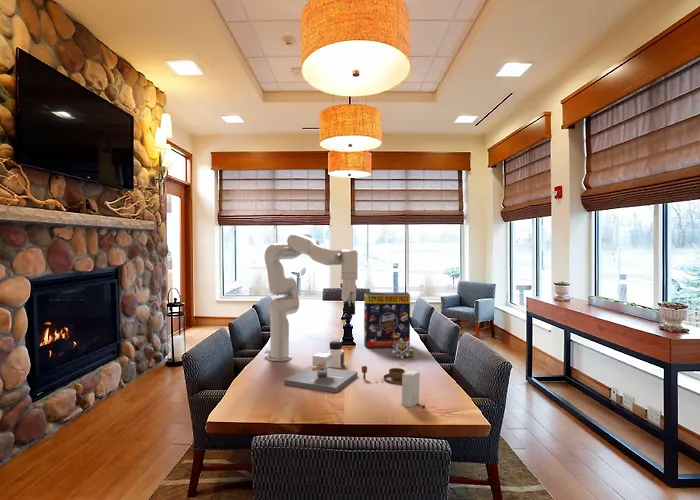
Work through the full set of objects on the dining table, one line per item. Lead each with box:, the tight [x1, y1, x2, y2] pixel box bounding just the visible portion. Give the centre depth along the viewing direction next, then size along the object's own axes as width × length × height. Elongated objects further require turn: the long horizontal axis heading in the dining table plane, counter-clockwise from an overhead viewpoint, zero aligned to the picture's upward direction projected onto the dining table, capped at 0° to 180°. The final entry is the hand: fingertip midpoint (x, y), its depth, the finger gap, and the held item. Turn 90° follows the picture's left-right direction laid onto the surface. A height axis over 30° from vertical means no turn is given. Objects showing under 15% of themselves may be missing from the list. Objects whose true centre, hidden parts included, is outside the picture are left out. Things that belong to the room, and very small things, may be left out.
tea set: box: [361, 365, 405, 385], centre depth 198 cm, size 18×20×6 cm
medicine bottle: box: [327, 340, 345, 369], centre depth 217 cm, size 7×7×12 cm
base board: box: [283, 365, 358, 393], centre depth 194 cm, size 24×24×2 cm
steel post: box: [317, 368, 327, 377], centre depth 194 cm, size 4×4×4 cm
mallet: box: [312, 352, 332, 371], centre depth 191 cm, size 6×11×5 cm, turn 158°
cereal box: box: [363, 291, 411, 349], centre depth 260 cm, size 27×11×32 cm, turn 97°
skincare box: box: [401, 370, 421, 408], centre depth 166 cm, size 6×4×12 cm
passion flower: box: [390, 338, 415, 360], centre depth 236 cm, size 11×11×12 cm
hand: (349, 313), depth 205 cm, fingers open, 9 cm apart
